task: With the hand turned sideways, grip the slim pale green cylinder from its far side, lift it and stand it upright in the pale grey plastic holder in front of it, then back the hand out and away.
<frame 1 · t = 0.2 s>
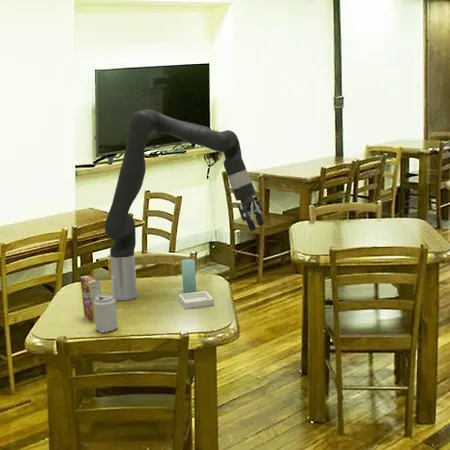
hand: (257, 227, 273), 31 cm above the table, tool tilted 20°, fingers open, 8 cm apart
holder: (196, 303, 291), on the table
candy box: (93, 319, 279), on the table
pale green cylinder: (189, 292, 304), on the table
can: (106, 329, 267), on the table
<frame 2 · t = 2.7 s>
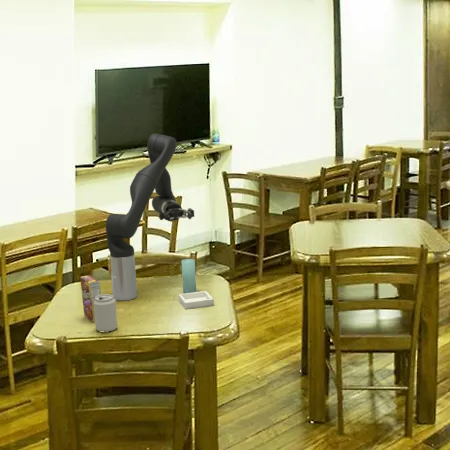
hand: (179, 217, 308), 28 cm above the table, tool horizontal, fingers open, 8 cm apart
nothing on the table moved.
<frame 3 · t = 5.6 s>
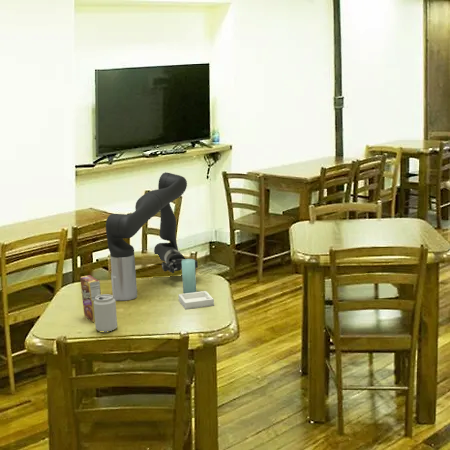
hand: (183, 269, 311), 7 cm above the table, tool horizontal, fingers open, 8 cm apart
nothing on the table moved.
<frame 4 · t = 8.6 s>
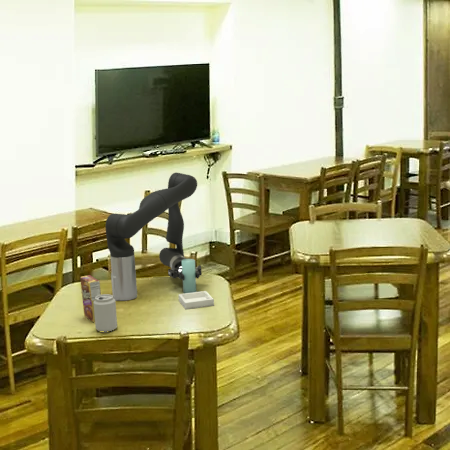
hand: (190, 276, 300), 7 cm above the table, tool horizontal, fingers closed on pale green cylinder, 5 cm apart
pale green cylinder: (189, 292, 304), on the table, touching gripper
everything else where it was.
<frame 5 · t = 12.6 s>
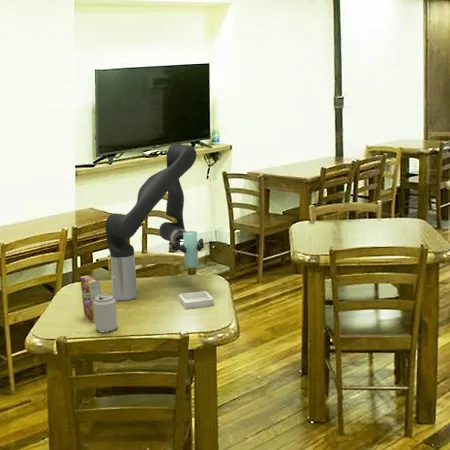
hand: (192, 249, 290), 20 cm above the table, tool horizontal, fingers closed on pale green cylinder, 5 cm apart
pale green cylinder: (191, 265, 294), point 13 cm above the table, touching gripper
everything else where it was.
when the fingers open (8 cm above the table, at t = 17.1 s): pale green cylinder stays where it is, resting on holder.
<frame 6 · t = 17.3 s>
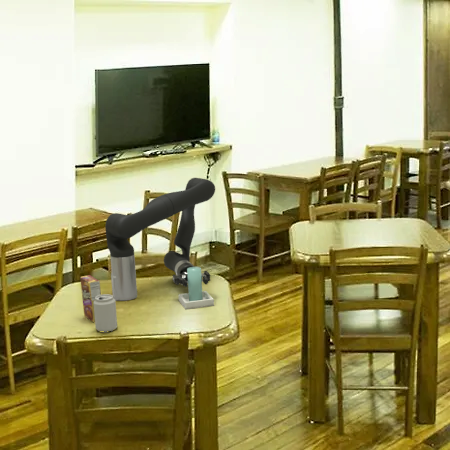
hand: (196, 283, 287), 8 cm above the table, tool horizontal, fingers open, 7 cm apart
pale green cylinder: (195, 301, 291), point 1 cm above the table, touching holder
everything else where it was.
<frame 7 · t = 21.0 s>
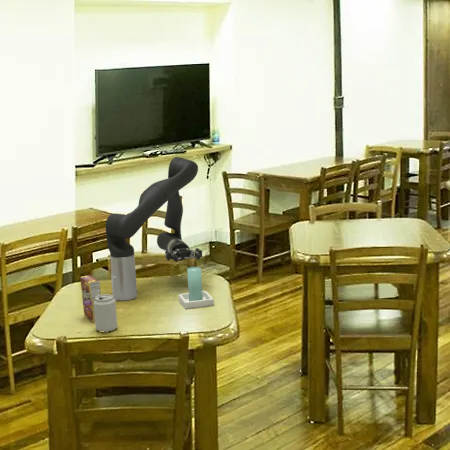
hand: (187, 258, 298), 15 cm above the table, tool horizontal, fingers open, 8 cm apart
nothing on the table moved.
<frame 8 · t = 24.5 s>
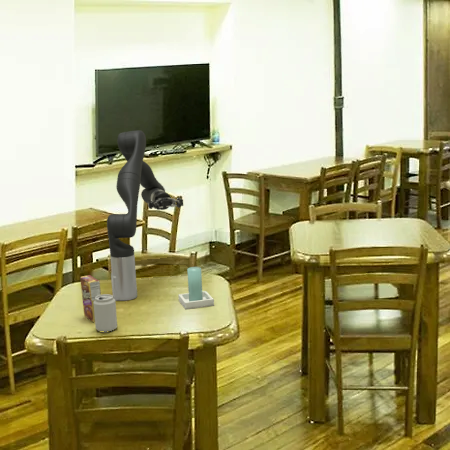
hand: (169, 206, 311), 32 cm above the table, tool horizontal, fingers open, 8 cm apart
nothing on the table moved.
at the end: pale green cylinder 0.1 cm off-centre on the holder, point 0.5 cm above the holder's base; pale green cylinder tilted 0°; the gripper is holding nothing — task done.
